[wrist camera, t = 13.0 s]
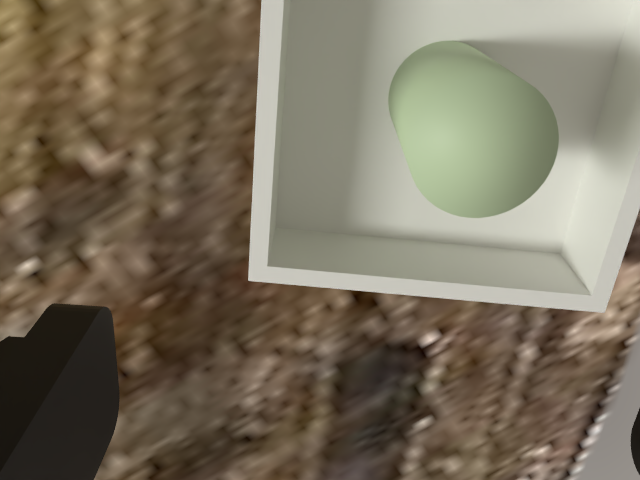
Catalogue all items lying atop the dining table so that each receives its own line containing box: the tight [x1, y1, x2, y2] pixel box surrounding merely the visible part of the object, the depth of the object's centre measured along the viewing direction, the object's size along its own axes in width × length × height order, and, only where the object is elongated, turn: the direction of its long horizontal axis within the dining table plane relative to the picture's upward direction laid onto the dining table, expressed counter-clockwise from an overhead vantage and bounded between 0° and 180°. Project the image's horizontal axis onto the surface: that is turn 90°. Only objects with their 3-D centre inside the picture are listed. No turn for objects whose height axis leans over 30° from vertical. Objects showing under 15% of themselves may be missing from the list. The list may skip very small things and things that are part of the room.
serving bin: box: [248, 0, 640, 313], centre depth 26 cm, size 16×16×5 cm
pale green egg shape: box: [388, 41, 559, 218], centre depth 24 cm, size 5×5×8 cm
